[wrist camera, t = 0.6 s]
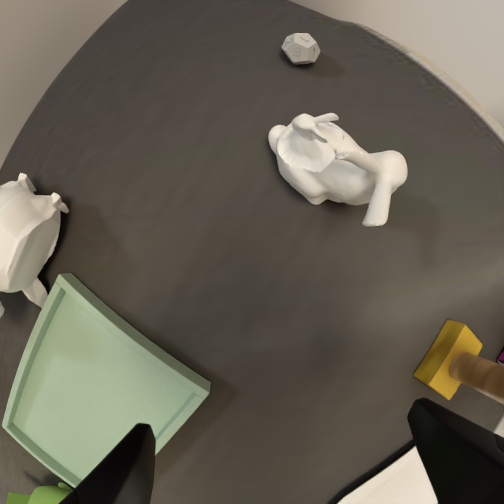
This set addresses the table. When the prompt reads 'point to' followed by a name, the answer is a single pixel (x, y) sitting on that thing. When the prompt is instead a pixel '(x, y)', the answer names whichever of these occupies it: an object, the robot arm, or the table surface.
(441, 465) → the robot arm
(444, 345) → the sponge wand
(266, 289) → the table surface
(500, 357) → the candy bar box
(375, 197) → the white figurine
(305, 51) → the game die
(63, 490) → the teapot
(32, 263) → the white turtle figurine
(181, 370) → the tray
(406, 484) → the plate
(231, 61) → the table surface
